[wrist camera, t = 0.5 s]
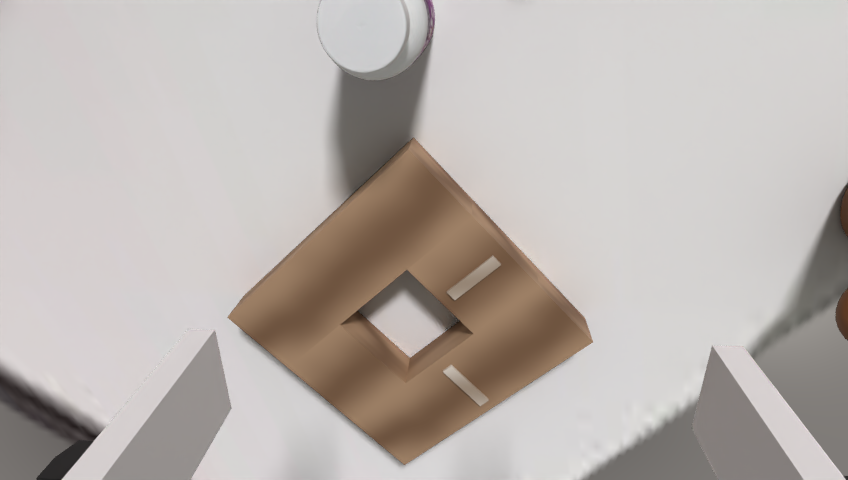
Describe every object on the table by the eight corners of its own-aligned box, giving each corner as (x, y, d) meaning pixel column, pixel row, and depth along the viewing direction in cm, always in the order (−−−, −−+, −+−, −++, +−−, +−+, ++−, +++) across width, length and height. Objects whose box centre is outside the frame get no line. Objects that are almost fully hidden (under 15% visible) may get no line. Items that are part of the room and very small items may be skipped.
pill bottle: (426, 74, 33) (408, 103, 24) (341, 55, 33) (294, 77, 24) (445, -22, 31) (434, -28, 22) (354, -42, 31) (307, -57, 22)
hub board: (243, 296, 41) (226, 319, 38) (413, 137, 35) (407, 150, 32) (408, 436, 45) (404, 467, 43) (584, 317, 39) (593, 343, 36)
